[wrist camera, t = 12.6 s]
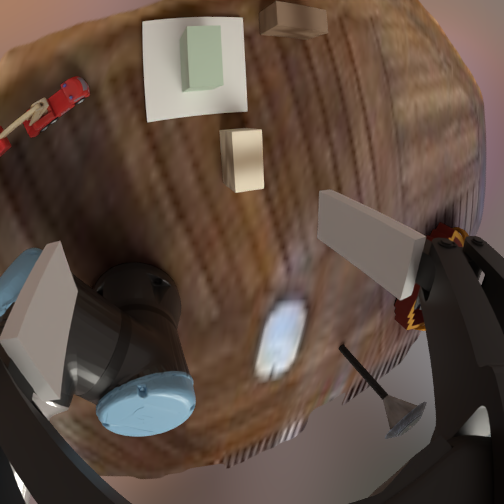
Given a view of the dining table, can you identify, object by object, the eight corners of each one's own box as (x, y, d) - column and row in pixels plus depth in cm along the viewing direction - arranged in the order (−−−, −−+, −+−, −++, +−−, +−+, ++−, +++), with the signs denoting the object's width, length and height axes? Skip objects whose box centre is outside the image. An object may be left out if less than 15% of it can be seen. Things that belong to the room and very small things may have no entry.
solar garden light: (322, 342, 68) (396, 431, 43) (361, 322, 71) (437, 398, 46) (322, 370, 74) (384, 450, 49) (357, 351, 77) (422, 421, 52)
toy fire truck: (94, 94, 30) (80, 86, 22) (18, 153, 28) (-12, 164, 20) (84, 75, 28) (68, 62, 20) (8, 135, 27) (-23, 142, 19)
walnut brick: (304, 19, 34) (326, 10, 29) (306, 39, 36) (328, 32, 31) (258, 13, 32) (276, 0, 27) (260, 34, 34) (277, 24, 29)
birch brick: (248, 179, 44) (264, 188, 39) (223, 183, 42) (235, 192, 37) (245, 127, 40) (261, 129, 35) (219, 130, 39) (231, 131, 34)
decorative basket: (428, 206, 67) (468, 225, 53) (470, 237, 76) (502, 256, 63) (372, 313, 77) (402, 345, 64) (424, 323, 87) (450, 348, 73)
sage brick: (211, 89, 35) (223, 85, 30) (182, 92, 33) (189, 87, 28) (208, 37, 31) (220, 25, 26) (179, 39, 30) (186, 26, 25)
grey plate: (245, 111, 39) (247, 111, 38) (147, 122, 34) (147, 122, 34) (240, 19, 32) (242, 17, 31) (142, 23, 27) (142, 21, 27)
